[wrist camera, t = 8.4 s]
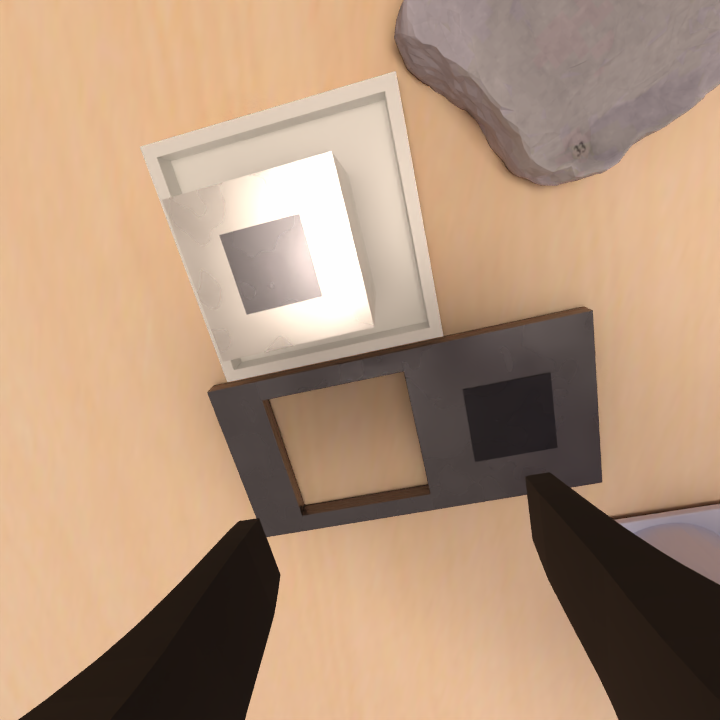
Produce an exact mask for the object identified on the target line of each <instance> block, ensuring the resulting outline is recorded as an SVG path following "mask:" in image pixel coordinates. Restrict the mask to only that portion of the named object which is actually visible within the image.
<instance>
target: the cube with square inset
mask: <svg viewBox="0 0 720 720" xmlns="http://www.w3.org/2000/svg"><path fill="white" fill-rule="evenodd" d="M162 201H163V204H164V207H165V209H166V212H167V215H168V217H169V220H170V223H171V225H172V228H173V230H174V233H175V236H176V238H177V241H178V244H179V246H180V249H181V252H182V254H183V257H184V260H185V262H186V265H187V268H188V270H189V273H190V275H191V278H192V281H193V283H194V286H195V289H196V291H197V294H198V297H199V299H200V302H201V305H202V307H203V310H204V313H205V315H206V318H207V321H208V323H209V326H210V328H211V331H212V334H213V336H214V339H215V342H216V344H217V347H218V350H219V352H220V355H221V358H222V360H223V362H224V361H229V360H233V359H237V358H242V357H246V356H250V355H255V354H259V353H264V352H268V351H272V350H277V349H281V348H285V347H290V346H294V345H299V344H303V343H307V342H312V341H316V340H320V339H325V338H329V337H334V336H338V335H342V334H347V333H351V332H355V331H360V330H364V329H368V328H373V327H374V323H375V301H376V291H375V287H374V283H373V279H372V274H371V270H370V266H369V262H368V257H367V253H366V249H365V245H364V240H363V236H362V232H361V228H360V223H359V219H358V215H357V211H356V206H355V202H354V198H353V194H352V189H351V185H350V181H349V177H348V173H347V172H346V171H345V169H344V168H343V167H342V165H341V164H340V162H339V161H338V160H337V158H336V157H335V155H334V154H333V153H332V151H331V152H327V153H324V154H320V155H317V156H313V157H310V158H306V159H303V160H299V161H296V162H292V163H289V164H285V165H282V166H278V167H275V168H271V169H268V170H264V171H261V172H257V173H254V174H250V175H247V176H243V177H240V178H236V179H233V180H229V181H226V182H222V183H219V184H216V185H212V186H209V187H205V188H202V189H198V190H195V191H191V192H188V193H184V194H181V195H177V196H174V197H170V198H167V199H163V200H162Z"/></svg>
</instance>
